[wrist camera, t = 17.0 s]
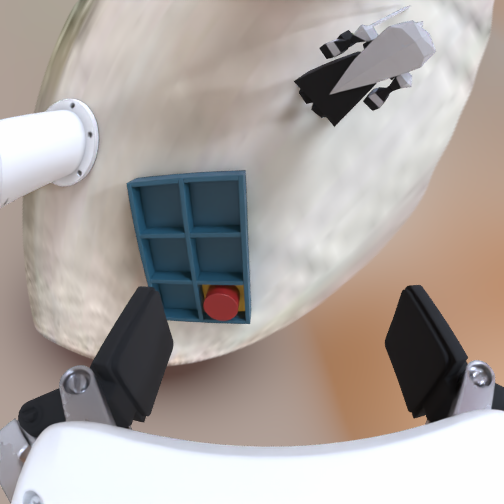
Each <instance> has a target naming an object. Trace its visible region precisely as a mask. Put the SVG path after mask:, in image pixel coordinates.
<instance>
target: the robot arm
mask: <svg viewBox="0 0 504 504" xmlns="http://www.w3.org/2000/svg"><path fill="white" fill-rule="evenodd" d="M98 143H99V135H98V127H97V122H96V120H95V117H94V115H93V113H92V112H91V110H90V108H89V107H88V106H87V105H86V104H84V103H83V102H81V101H79V100H76V99H64V100H60V101H58V102H56V103H54V104H53V105H51V106H50V107H49V108H48V109H47V110H46V112H41V113H34V114H28V115H21V116H16V117H10V118H5V119H1V120H0V208H2V207H4V206H5V205H7V204H9V203H10V202H13V201H15V200H16V199H18V198H20V197H22V196H24V195H26V194H28V193H30V192H32V191H34V190H36V189H38V188H40V187H42V186H45V185H47V184H49V183H53V184H55V185H57V186H62V187H64V186H70V185H73V184H75V183H77V182H79V181H81V180H82V179H83V178H84V177H85V176H86V175H87V174H88V173H89V171H90V170H91V168H92V166H93V164H94V161H95V159H96V155H97V151H98ZM385 347H386V350H387V352H388V355H389V357H390V360H391V363H392V365H393V368H394V371H395V373H396V376H397V379H398V382H399V385H400V388H401V391H402V393H403V396H404V399H405V402H406V406H407V408H408V411H409V412H412V415H413V418H417V417H421V416H424V415H426V417H427V421H426V423H425V425H423V426H419V427H415V428H412V429H407V430H403V431H399V432H396V433H391V434H386V435H381V436H376V437H371V438H366V439H360V440H353V441H346V442H338V443H330V444H319V445H305V446H279V447H263V446H236V445H221V444H211V443H202V442H195V441H188V440H181V439H175V438H169V437H164V436H158V435H153V434H148V433H143V432H139V431H134V430H132V428H131V426H130V425H131V424H132V421H133V420H135V421H139V422H144V421H145V418H146V416H149V415H150V414H151V411H152V408H153V405H154V402H155V399H156V396H157V393H158V390H159V387H160V384H161V381H162V378H163V375H164V372H165V369H166V367H167V364H168V361H169V358H170V355H171V352H172V350H173V339H172V336H171V332H170V329H169V326H168V322H167V319H166V315H165V312H164V308H163V304H162V301H161V297H160V294H159V292H158V291H155V289H154V287H142V286H140V287H138V288H137V290H136V291H135V293H134V294H133V296H132V298H131V299H130V301H129V302H128V304H127V305H126V307H125V308H124V310H123V312H122V313H121V315H120V316H119V318H118V320H117V321H116V323H115V324H114V326H113V328H112V329H111V331H110V333H109V334H108V336H107V338H106V339H105V341H104V343H103V344H102V346H101V348H100V350H99V351H98V353H97V355H96V357H95V358H94V360H93V362H92V364H91V366H90V368H88V367H86V366H74V367H72V368H70V369H68V370H67V371H66V372H65V373H64V374H63V376H62V377H61V379H60V385H59V389H56V390H54V391H52V392H49V393H47V394H45V395H42V396H40V397H38V398H35V399H33V400H30V401H28V402H27V403H25V404H24V405H23V406H22V407H21V409H20V411H19V415H18V421H17V420H16V419H14V420H12V421H11V422H10V423H8V424H7V425H6V426H5V427H3V428H2V429H1V430H0V485H1V487H2V489H3V490H4V492H5V494H6V496H7V498H8V500H9V501H10V503H11V504H504V387H502V386H500V385H498V384H496V383H495V375H494V372H493V370H492V368H491V367H490V366H489V365H488V364H487V363H485V362H483V361H479V360H474V361H472V362H470V363H469V364H467V362H466V360H467V358H468V356H467V355H466V353H465V351H464V350H463V348H462V346H461V345H460V343H459V341H458V340H457V338H456V336H455V335H454V333H453V331H452V330H451V328H450V327H449V325H448V324H447V322H446V321H445V319H444V318H443V316H442V314H441V313H440V311H439V310H438V309H437V307H436V306H435V304H434V303H433V301H432V300H431V298H430V297H429V296H428V294H427V293H426V291H425V290H424V289H423V287H422V286H421V285H413V286H407V287H406V288H405V290H403V291H402V293H401V296H400V299H399V302H398V305H397V308H396V311H395V314H394V317H393V320H392V323H391V325H390V328H389V331H388V333H387V336H386V339H385Z"/></svg>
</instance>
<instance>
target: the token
mask: <svg viewBox="0 0 504 504" xmlns="http://www.w3.org/2000/svg"><path fill="white" fill-rule="evenodd" d="M239 301H240V292H239V290H238V288H237V287H236V286H235V285H210V286H209V288H208V291H207V294H206V297H205V300H204V304H203V307H204V310H205V312H206V313H207V314H208V315H209V316H210V317H211V318H213V319H216V320H220V321H226V320H230V319H232V318H234V317H235V316H236V314H237V313H238V308H239Z"/></svg>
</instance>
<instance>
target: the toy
mask: <svg viewBox="0 0 504 504" xmlns="http://www.w3.org/2000/svg"><path fill="white" fill-rule="evenodd" d="M409 7H410V6H407V7H404V8H402V9H400V10H398V11H396V12H394V13H392V14H390V15H388V16H386V17H384V18H382V19H380V20H378V21H376V22H375V23H373V24H371V25H369V26H365V25H361V26H360V27H359V28H358V29H357V31H356V32H355V33H354V34H353V33H351V32H350V31H349V30H348V31H346V32H344V33H342V34H341V35H340V36H339V37H338V38H337V40H333V41H331V42H328V43H326V44H324V45H323V46H321V47H320V48H319V49H320V50H321V51H322V53H323V54H324V56H325V57H326V59H329V58H333V57H336V56H338V55H340V54H342V53H344V52H345V51H346V50H347V49H348V47H350V46H352V45H354V44H355V43H357V42H364V41H366V43H364V44H363V47H364V50H363V51H362V52H356V53H353V54H350V55H347V56H344V57H342V58H339V59H336V60H334V61H331V62H329V63H326V64H324V65H322V66H319V67H317V68H315V69H313V70H310V71H308V72H307V73H305V74H304V75H302V76H301V77H300V78H298V79H297V80H295V81H294V82H295V83H296V84H297V85H298V86H299V87H300V91H299V94H300V95H301V97H302V98H303V100H304V101H305V103H306V104H308V103H313V102H314V103H313V106H312V109H311V110H313V111H314V112H315V113H316V114H317V115H319V116H320V117H321V118H323V117H327V118H328V120H329V121H330V122H331V123H332V124H333V126H334V127H335V126H336V125H337V124H338V123H339V122H340V121H341V119H342V118H343V117H344V116H345V115H346V114H347V113H348V112H349V111H350V110H351V109H352V108H353V107H354V106H355V105H356V104H357V103H358V102H359V101H360V100H361V99H362V98H363V97H364V96H365V95H366V94H367V93H368V92H369V91H370V90H371V89H372V88H373V86H374V85H375V84H376V83H377V82H380V81H383V80H385V79H388V78H390V79H391V80H393V79H394V80H393V81H392V83H391V84H390V86H388V87H387V88H381V87H379V88H376V89H373V90H372V91H371V92H370V94H369V95H368V96H367V97H366V98H365V100H364V101H363V102H364V103H365V104H366V105H367V106H368V107H369V108H370V109H371V110H372V111H373V110H376V109H378V108H380V107H381V106H382V104H383V103H384V102H385V101H386V99H387V98H388V96H389V93H391V92H392V91H394V90H397V89H400V88H407V87H412V75H411V74H410V73H409V72H410V71H412V70H415V69H418V68H420V67H421V66H422V65H423V64H424V63H425V62H426V61H427V60H428V59H429V58H430V57H431V56H432V55H433V54H434V53H435V52H436V50H435V47H434V44H433V42H432V39H431V36H430V34H429V33H428V32H427V31H426V30H425V29H423V28H422V27H423V21H421V22H416V23H415V22H414V21H413V20H411V21H407V22H402V23H399V24H395V25H392V26H389V27H388V28H386V29H385V30H384V31H383V32H382V33H381V34H380V35H378V34H377V32H376V30H375V29H374V26H376V25H378V24H379V23H381V22H383V21H385V20H387V19H389V18H391V17H392V16H394V15H396V14H398V13H400V12H402V11H404V10H406V9H408V8H409Z"/></svg>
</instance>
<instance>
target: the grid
mask: <svg viewBox="0 0 504 504" xmlns="http://www.w3.org/2000/svg"><path fill="white" fill-rule="evenodd" d="M127 189H128V195H129V201H130V207H131V212H132V218H133V223H134V228H135V233H136V237H137V242H138V247H139V251H140V255H141V260H142V264H143V268H144V272H145V276H146V279H147V283H148V287H154V289H155V291H158V292H159V294H160V297H161V301H162V304H163V308H164V312H165V315H166V319H167V320H171V321H186V322H205V323H231V324H250V319H251V296H250V272H249V248H248V223H247V198H246V172H245V170H242V171H216V172H199V173H184V174H172V175H161V176H151V177H142V178H136V179H134V180H132V181H130V182H128V183H127ZM210 285H235V286H236V287H237V288H238V290H239V292H240V301H239V308H238V313H237V314H236V316H235V317H234V318H232V319H230V320H226V321H220V320H216V319H213V318H211V317H210V316H209V315H208V314H207V313H206V312H205V310H204V307H203V304H204V300H205V297H206V294H207V291H208V288H209V286H210Z"/></svg>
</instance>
